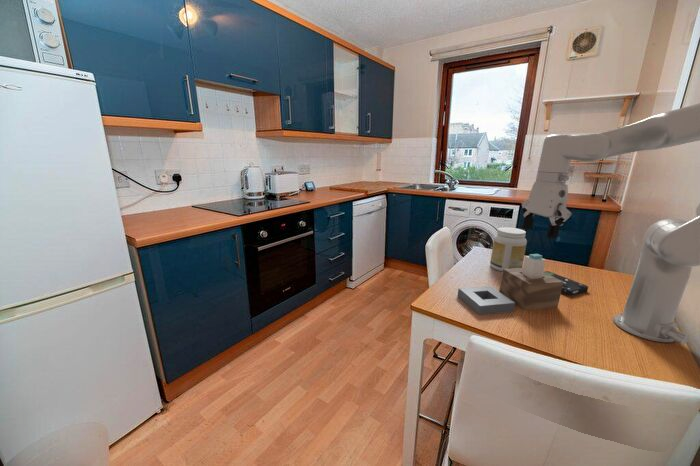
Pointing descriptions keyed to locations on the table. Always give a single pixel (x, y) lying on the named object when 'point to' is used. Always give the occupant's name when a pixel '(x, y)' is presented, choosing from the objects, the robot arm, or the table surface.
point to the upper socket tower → (530, 289)
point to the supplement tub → (508, 248)
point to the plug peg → (533, 266)
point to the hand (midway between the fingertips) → (538, 233)
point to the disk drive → (570, 285)
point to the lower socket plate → (492, 303)
